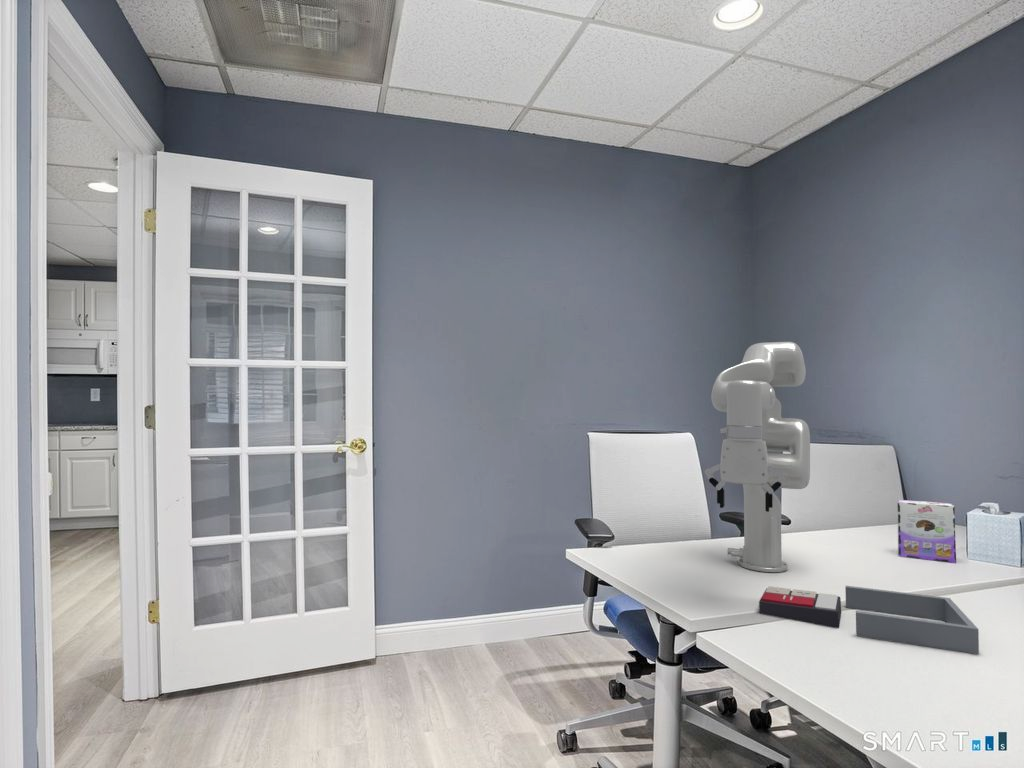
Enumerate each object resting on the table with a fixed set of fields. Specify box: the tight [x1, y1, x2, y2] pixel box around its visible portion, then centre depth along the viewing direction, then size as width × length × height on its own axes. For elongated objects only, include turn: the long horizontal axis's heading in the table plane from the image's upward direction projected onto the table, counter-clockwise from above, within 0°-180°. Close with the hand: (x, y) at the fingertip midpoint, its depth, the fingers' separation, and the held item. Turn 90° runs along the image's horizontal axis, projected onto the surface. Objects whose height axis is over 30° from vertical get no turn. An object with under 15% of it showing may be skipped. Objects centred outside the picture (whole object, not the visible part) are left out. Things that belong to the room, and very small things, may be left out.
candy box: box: [896, 499, 957, 564], centre depth 170 cm, size 14×6×16 cm, turn 58°
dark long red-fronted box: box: [758, 586, 842, 629], centre depth 125 cm, size 11×4×15 cm
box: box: [844, 585, 980, 655], centre depth 117 cm, size 19×18×4 cm
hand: (744, 508), depth 131 cm, fingers open, 9 cm apart
